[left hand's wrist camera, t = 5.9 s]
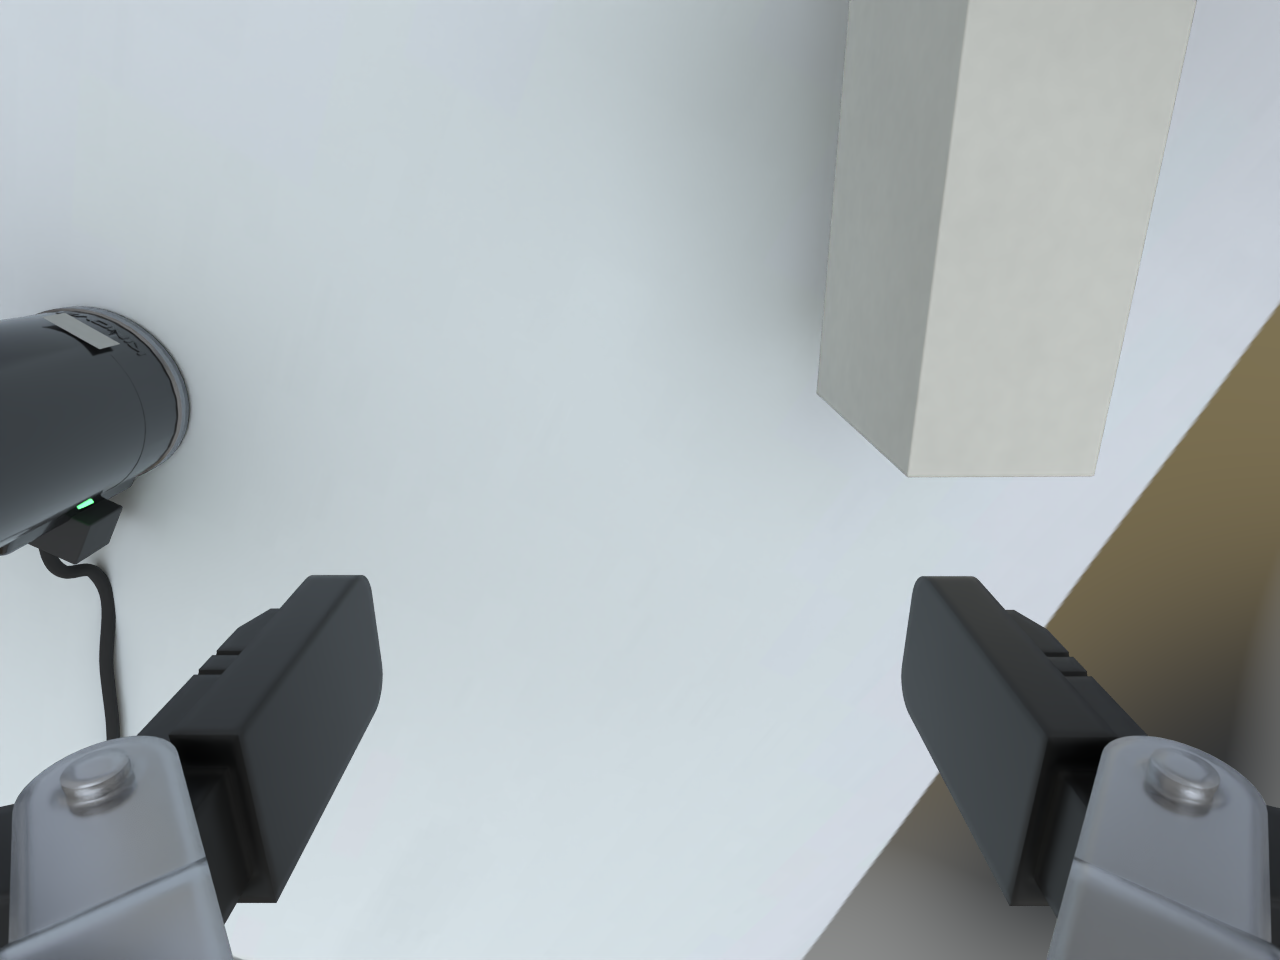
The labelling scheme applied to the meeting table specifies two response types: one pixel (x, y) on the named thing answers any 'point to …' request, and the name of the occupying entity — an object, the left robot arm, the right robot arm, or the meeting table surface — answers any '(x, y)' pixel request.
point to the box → (992, 224)
